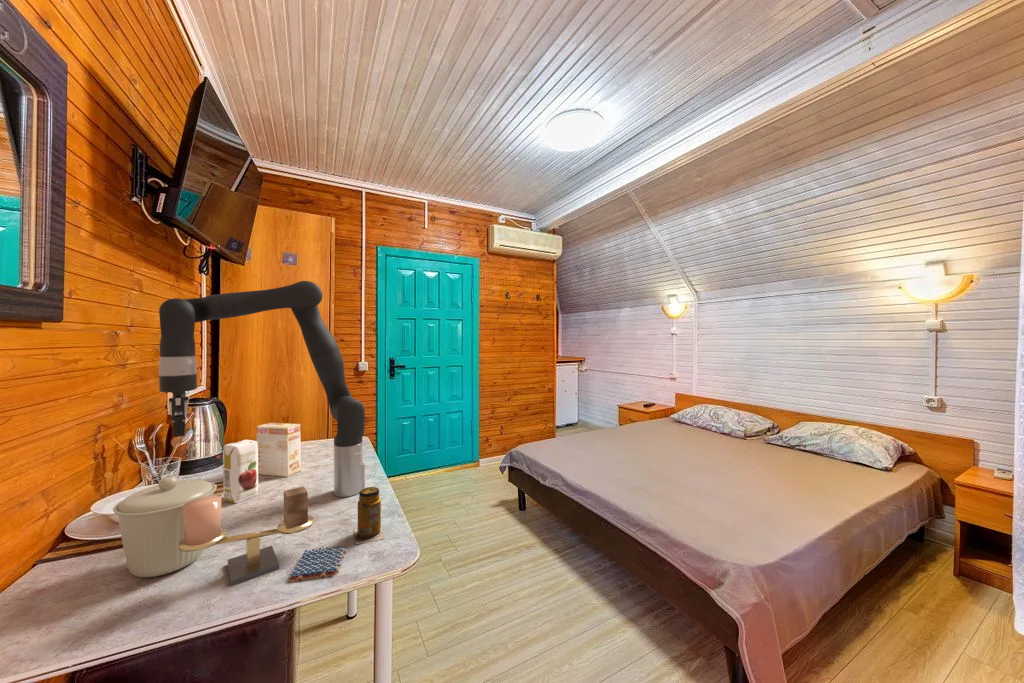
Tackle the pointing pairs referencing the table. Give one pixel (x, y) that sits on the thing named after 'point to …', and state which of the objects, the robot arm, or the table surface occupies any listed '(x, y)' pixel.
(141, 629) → the table surface
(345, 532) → the table surface
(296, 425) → the coffeecake box
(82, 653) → the table surface
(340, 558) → the woven mat
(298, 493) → the block
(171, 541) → the canister
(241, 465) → the juice carton
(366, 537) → the condiment
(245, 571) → the balance
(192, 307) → the robot arm
